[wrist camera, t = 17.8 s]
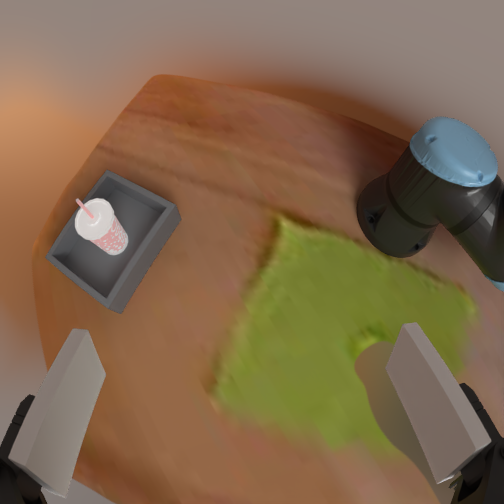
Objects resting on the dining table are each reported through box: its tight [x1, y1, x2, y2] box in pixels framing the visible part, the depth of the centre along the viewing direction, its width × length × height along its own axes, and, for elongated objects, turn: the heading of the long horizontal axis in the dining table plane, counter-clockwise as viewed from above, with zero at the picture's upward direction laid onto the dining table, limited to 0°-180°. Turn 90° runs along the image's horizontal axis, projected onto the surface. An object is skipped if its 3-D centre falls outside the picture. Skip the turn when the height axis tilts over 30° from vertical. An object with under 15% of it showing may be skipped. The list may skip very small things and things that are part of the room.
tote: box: [45, 170, 181, 314], centre depth 44 cm, size 18×15×5 cm
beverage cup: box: [75, 198, 128, 255], centre depth 38 cm, size 6×6×14 cm
